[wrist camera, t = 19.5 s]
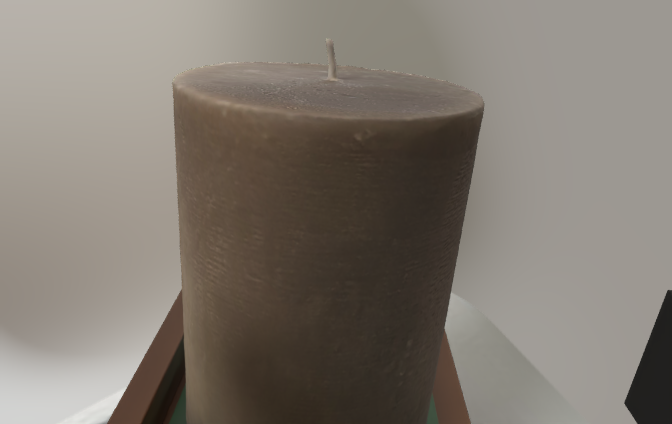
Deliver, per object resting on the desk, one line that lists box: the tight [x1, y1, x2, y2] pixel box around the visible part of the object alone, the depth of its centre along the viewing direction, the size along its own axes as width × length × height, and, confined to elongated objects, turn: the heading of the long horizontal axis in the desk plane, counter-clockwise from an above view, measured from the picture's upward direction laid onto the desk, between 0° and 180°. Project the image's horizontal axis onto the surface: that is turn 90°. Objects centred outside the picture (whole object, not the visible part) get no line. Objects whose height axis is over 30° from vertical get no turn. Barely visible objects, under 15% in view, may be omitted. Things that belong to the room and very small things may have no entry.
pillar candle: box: [172, 38, 484, 424], centre depth 19 cm, size 10×10×15 cm
